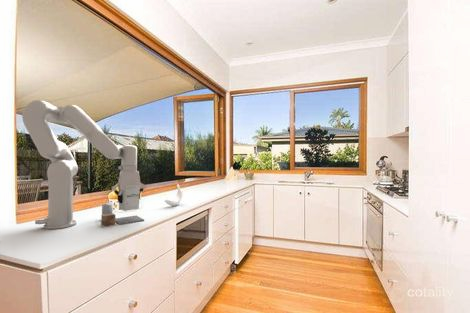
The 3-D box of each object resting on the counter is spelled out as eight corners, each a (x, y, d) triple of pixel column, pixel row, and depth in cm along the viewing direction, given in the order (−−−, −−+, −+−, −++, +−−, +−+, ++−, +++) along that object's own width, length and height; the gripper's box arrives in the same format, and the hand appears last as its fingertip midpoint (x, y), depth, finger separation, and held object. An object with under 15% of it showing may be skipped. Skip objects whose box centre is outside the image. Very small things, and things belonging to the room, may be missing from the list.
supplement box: (125, 211, 118) (125, 186, 118) (118, 209, 122) (118, 185, 122) (139, 208, 123) (139, 185, 123) (132, 207, 128) (132, 184, 128)
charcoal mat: (119, 224, 114) (119, 223, 114) (112, 219, 123) (112, 218, 123) (144, 220, 122) (144, 219, 122) (136, 216, 131) (136, 215, 131)
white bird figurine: (164, 207, 155) (164, 185, 155) (177, 202, 173) (178, 183, 174) (170, 208, 154) (170, 186, 154) (183, 203, 172) (184, 183, 172)
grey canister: (105, 220, 121) (105, 205, 121) (99, 219, 124) (100, 204, 124) (114, 218, 126) (114, 203, 126) (108, 217, 128) (108, 202, 128)
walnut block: (103, 226, 111) (103, 216, 111) (101, 224, 115) (101, 214, 115) (115, 224, 114) (115, 214, 114) (112, 222, 118) (112, 212, 118)
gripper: (113, 169, 114) (112, 205, 114) (148, 168, 126) (148, 200, 126) (109, 168, 120) (109, 202, 120) (143, 168, 132) (143, 199, 131)
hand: (129, 201), depth 123 cm, fingers closed on supplement box, 8 cm apart
